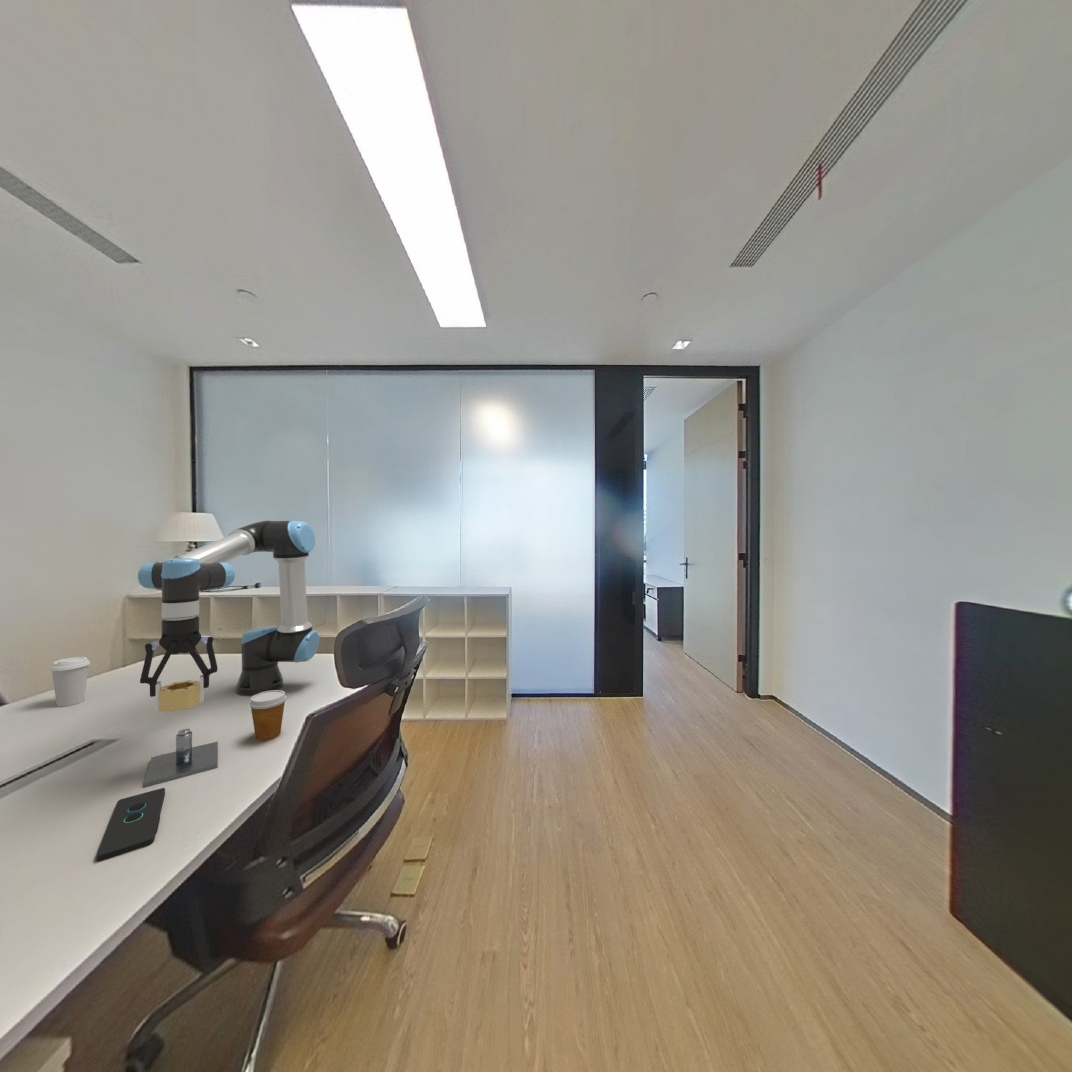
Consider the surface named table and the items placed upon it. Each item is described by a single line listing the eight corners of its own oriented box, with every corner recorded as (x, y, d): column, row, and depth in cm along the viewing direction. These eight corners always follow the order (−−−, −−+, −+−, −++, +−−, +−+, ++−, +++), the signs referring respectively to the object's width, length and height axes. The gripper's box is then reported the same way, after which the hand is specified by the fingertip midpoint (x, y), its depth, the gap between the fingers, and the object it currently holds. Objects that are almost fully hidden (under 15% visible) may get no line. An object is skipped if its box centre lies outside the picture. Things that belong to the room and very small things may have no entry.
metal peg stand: (217, 744, 119) (217, 714, 119) (217, 767, 108) (217, 733, 108) (151, 760, 111) (151, 728, 111) (143, 787, 100) (143, 750, 100)
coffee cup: (44, 705, 144) (43, 662, 143) (82, 695, 153) (82, 654, 152) (58, 710, 140) (57, 666, 140) (96, 700, 149) (96, 658, 149)
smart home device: (166, 786, 98) (154, 837, 82) (166, 793, 98) (154, 845, 82) (117, 799, 93) (94, 856, 77) (117, 807, 93) (94, 865, 77)
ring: (200, 696, 115) (200, 678, 115) (199, 706, 109) (199, 687, 109) (162, 703, 110) (162, 684, 110) (157, 714, 104) (157, 694, 104)
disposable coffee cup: (294, 731, 128) (294, 692, 128) (264, 746, 119) (264, 704, 119) (271, 725, 131) (271, 687, 131) (241, 740, 122) (240, 699, 122)
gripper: (230, 611, 119) (229, 691, 119) (128, 619, 106) (128, 708, 106) (230, 615, 112) (229, 699, 113) (122, 624, 100) (122, 719, 100)
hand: (180, 704), depth 110 cm, fingers closed on ring, 8 cm apart
